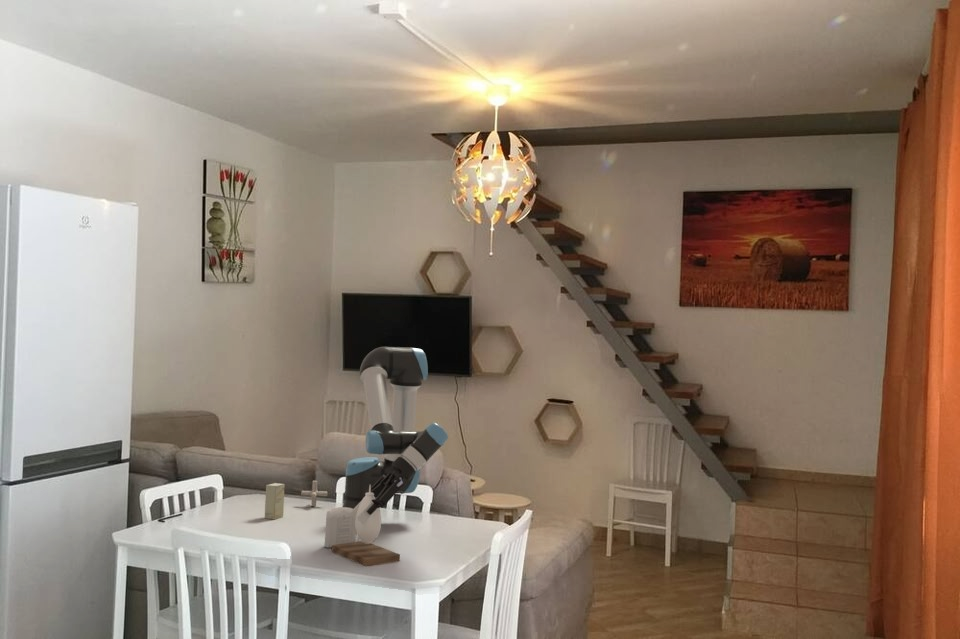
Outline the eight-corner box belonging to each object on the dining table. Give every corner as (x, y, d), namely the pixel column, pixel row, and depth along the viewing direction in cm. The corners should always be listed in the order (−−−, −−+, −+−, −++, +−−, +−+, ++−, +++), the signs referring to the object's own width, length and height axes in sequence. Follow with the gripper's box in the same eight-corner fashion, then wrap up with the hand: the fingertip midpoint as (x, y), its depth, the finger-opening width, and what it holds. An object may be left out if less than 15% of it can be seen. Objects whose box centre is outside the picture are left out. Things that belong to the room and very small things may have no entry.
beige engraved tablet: (352, 543, 277) (354, 505, 277) (357, 546, 273) (359, 507, 274) (322, 545, 272) (324, 507, 272) (326, 548, 268) (328, 509, 269)
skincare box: (274, 519, 307) (276, 486, 308) (263, 518, 309) (265, 484, 309) (283, 516, 313) (285, 483, 314) (273, 515, 315) (274, 482, 315)
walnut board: (331, 551, 265) (331, 545, 265) (364, 547, 273) (364, 540, 273) (366, 566, 250) (366, 559, 250) (399, 561, 257) (400, 554, 257)
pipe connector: (302, 503, 339) (303, 478, 340) (327, 504, 340) (328, 479, 341) (299, 508, 329) (300, 482, 330) (325, 509, 330) (326, 483, 331)
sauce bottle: (361, 539, 266) (364, 481, 267) (384, 541, 264) (386, 483, 264) (350, 544, 259) (352, 484, 259) (373, 547, 256) (376, 487, 257)
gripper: (427, 476, 260) (373, 533, 252) (404, 467, 277) (354, 520, 269) (411, 459, 258) (357, 516, 250) (390, 451, 275) (339, 504, 267)
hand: (356, 518), depth 260 cm, fingers closed on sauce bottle, 6 cm apart
